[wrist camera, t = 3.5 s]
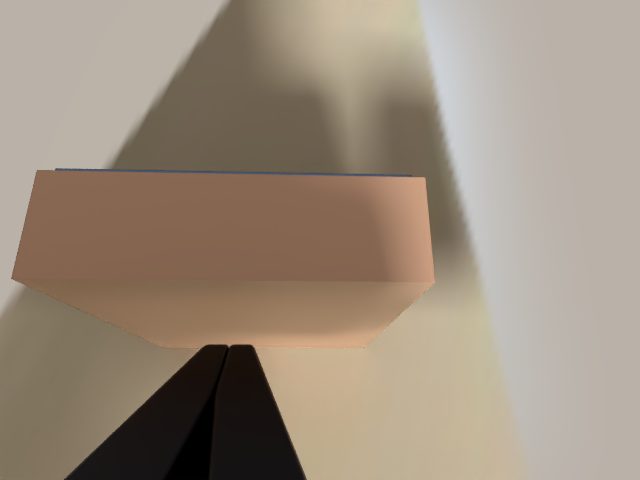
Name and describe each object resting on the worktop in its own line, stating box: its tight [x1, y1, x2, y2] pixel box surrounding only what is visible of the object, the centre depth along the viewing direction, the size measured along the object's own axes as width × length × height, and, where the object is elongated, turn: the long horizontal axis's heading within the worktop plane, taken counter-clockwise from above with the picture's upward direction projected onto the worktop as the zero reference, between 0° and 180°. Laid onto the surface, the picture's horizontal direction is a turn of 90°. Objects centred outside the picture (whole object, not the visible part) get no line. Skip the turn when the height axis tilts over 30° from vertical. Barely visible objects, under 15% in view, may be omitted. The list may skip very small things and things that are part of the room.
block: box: [12, 168, 435, 348], centre depth 12 cm, size 2×7×9 cm, turn 90°
